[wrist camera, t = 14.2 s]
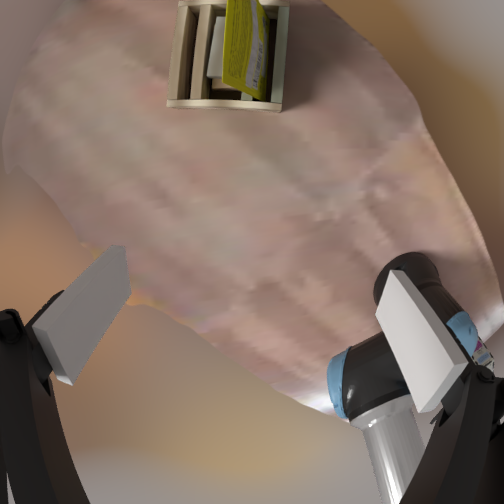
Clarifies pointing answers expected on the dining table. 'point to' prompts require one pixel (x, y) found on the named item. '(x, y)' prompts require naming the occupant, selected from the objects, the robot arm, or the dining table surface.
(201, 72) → the rack
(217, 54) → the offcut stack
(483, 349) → the candy bar box
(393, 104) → the dining table surface
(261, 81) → the food package
